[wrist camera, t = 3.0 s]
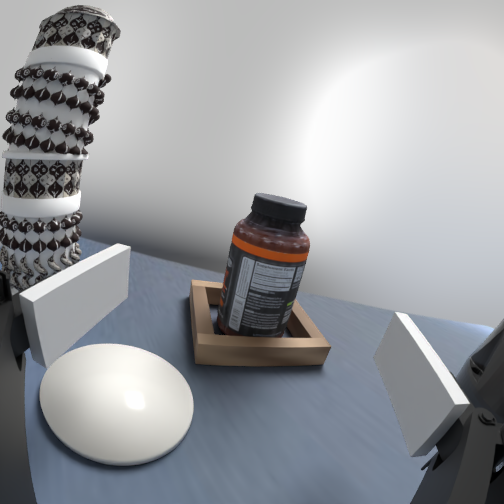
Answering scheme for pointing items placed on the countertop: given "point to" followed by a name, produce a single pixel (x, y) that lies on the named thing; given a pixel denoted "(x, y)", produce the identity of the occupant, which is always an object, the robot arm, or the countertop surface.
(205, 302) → the holder
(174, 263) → the countertop surface
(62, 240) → the decorative candle
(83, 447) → the white domed disc
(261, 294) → the supplement bottle
